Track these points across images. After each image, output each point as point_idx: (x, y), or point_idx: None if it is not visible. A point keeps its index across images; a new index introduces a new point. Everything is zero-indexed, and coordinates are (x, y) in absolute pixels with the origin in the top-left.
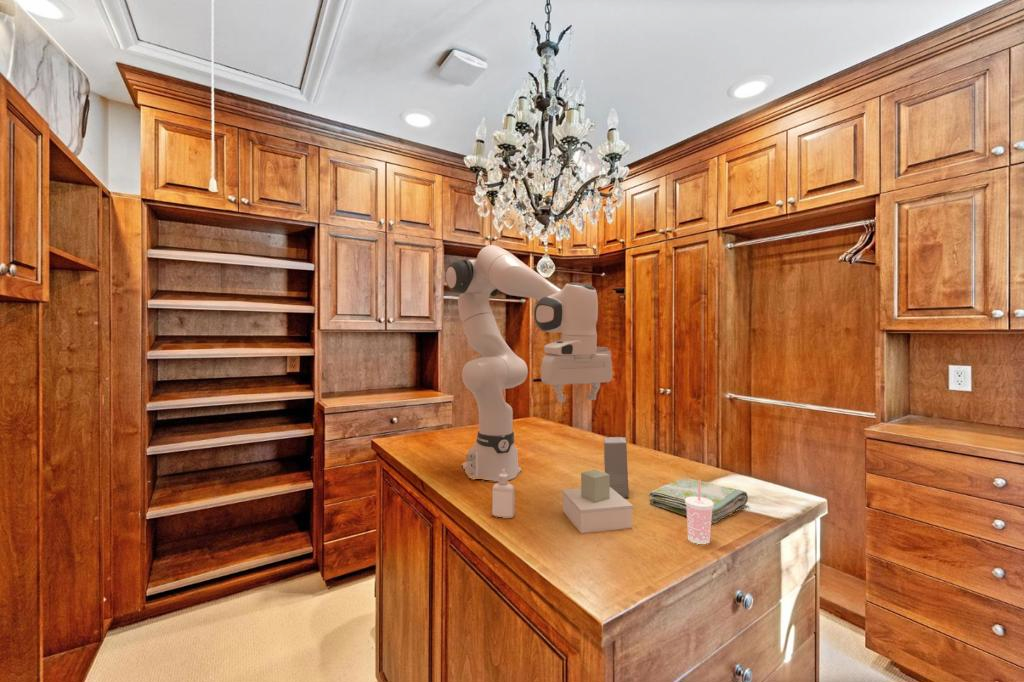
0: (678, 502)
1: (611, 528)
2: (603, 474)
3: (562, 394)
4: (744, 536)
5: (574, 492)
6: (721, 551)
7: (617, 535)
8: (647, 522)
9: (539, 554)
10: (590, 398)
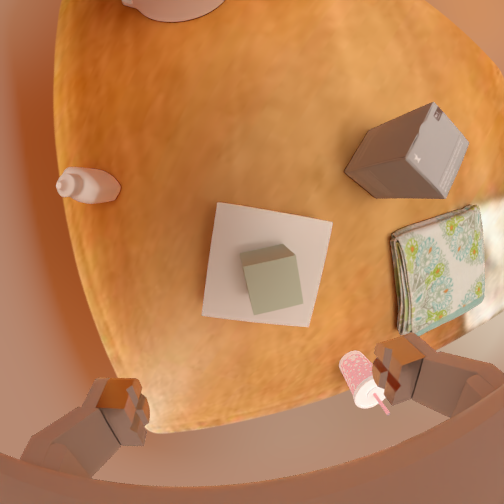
0: (404, 295)
1: None
2: (289, 298)
3: (109, 451)
4: None
5: (237, 227)
6: None
7: None
8: (334, 298)
9: (119, 330)
10: (377, 372)
